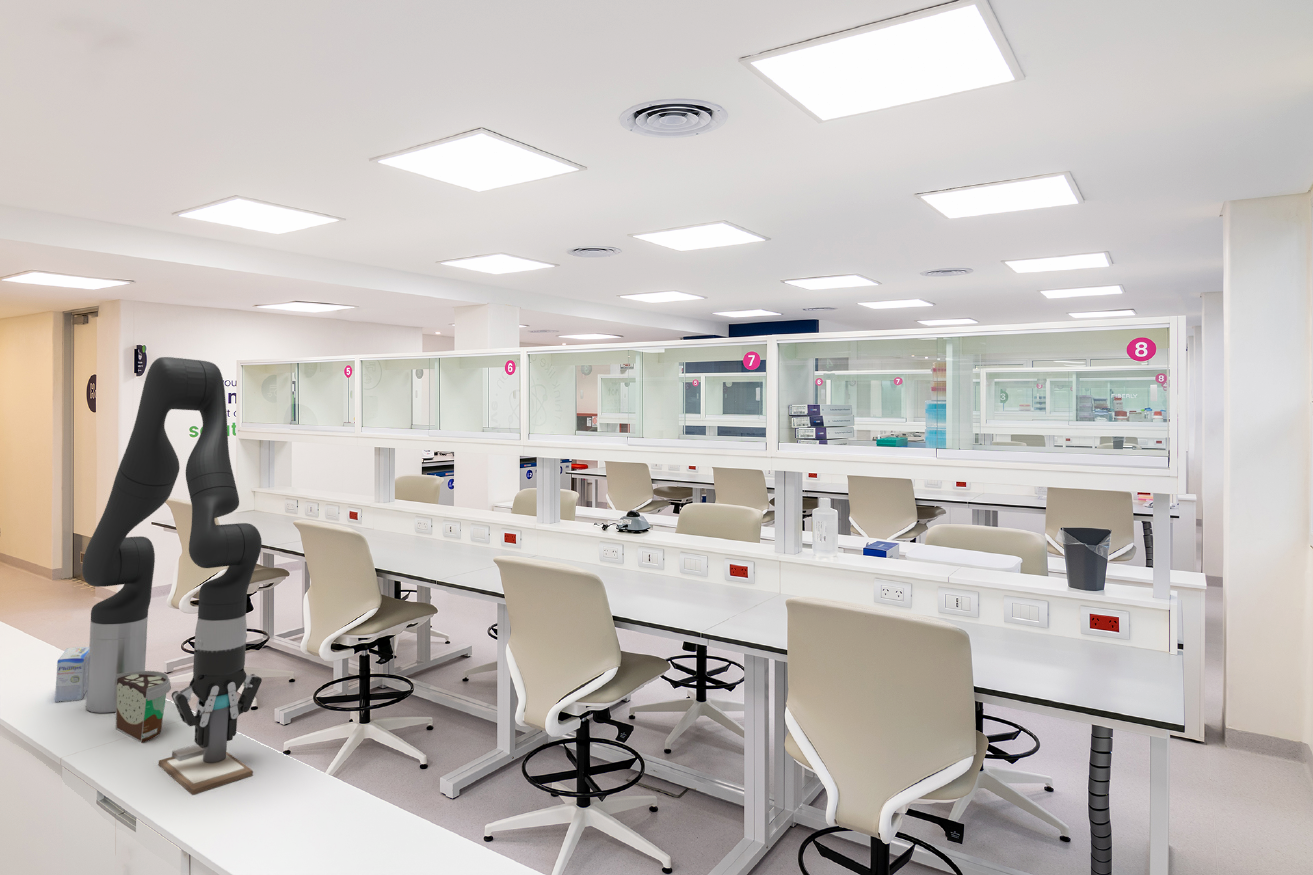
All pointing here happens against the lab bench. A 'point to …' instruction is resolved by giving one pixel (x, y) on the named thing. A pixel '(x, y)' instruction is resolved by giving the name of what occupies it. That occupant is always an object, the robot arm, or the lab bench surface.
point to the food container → (141, 703)
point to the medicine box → (72, 674)
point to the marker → (217, 731)
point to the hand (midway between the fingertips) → (215, 742)
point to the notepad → (202, 769)
